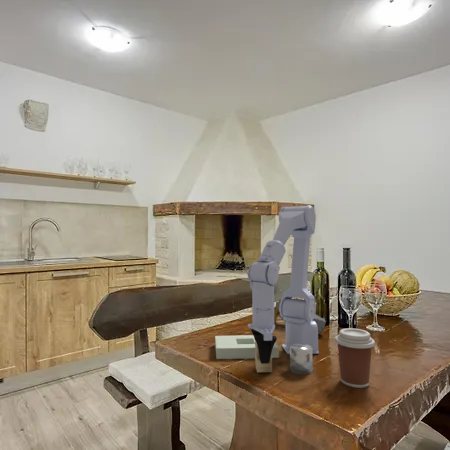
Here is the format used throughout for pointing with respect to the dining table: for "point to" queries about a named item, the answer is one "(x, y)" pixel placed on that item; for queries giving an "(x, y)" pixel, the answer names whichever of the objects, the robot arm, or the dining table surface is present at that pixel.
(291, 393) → the dining table surface
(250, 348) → the socket plate
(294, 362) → the round peg
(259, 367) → the square peg
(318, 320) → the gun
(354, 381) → the coffee cup
